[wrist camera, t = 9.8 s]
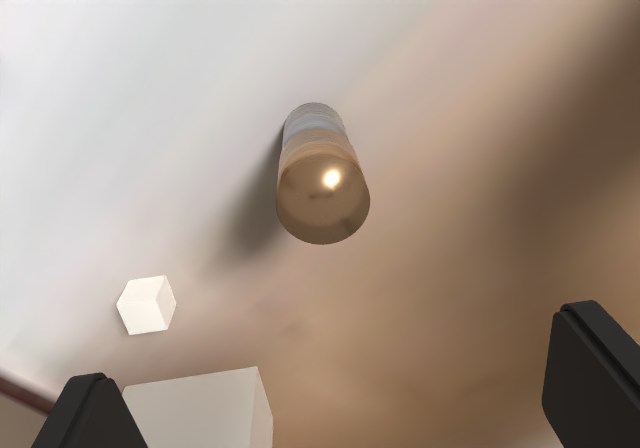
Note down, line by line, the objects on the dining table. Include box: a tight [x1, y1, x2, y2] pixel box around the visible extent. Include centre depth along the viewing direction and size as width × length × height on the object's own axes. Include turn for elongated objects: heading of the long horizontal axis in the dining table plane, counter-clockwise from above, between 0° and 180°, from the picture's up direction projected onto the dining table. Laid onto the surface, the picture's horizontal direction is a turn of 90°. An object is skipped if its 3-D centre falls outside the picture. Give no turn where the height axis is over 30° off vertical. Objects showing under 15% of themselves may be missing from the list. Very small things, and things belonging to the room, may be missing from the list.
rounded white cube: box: [116, 275, 176, 335], centre depth 29 cm, size 2×2×2 cm
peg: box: [276, 103, 370, 245], centre depth 21 cm, size 4×4×9 cm
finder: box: [122, 366, 273, 448], centre depth 32 cm, size 10×6×7 cm, turn 99°
